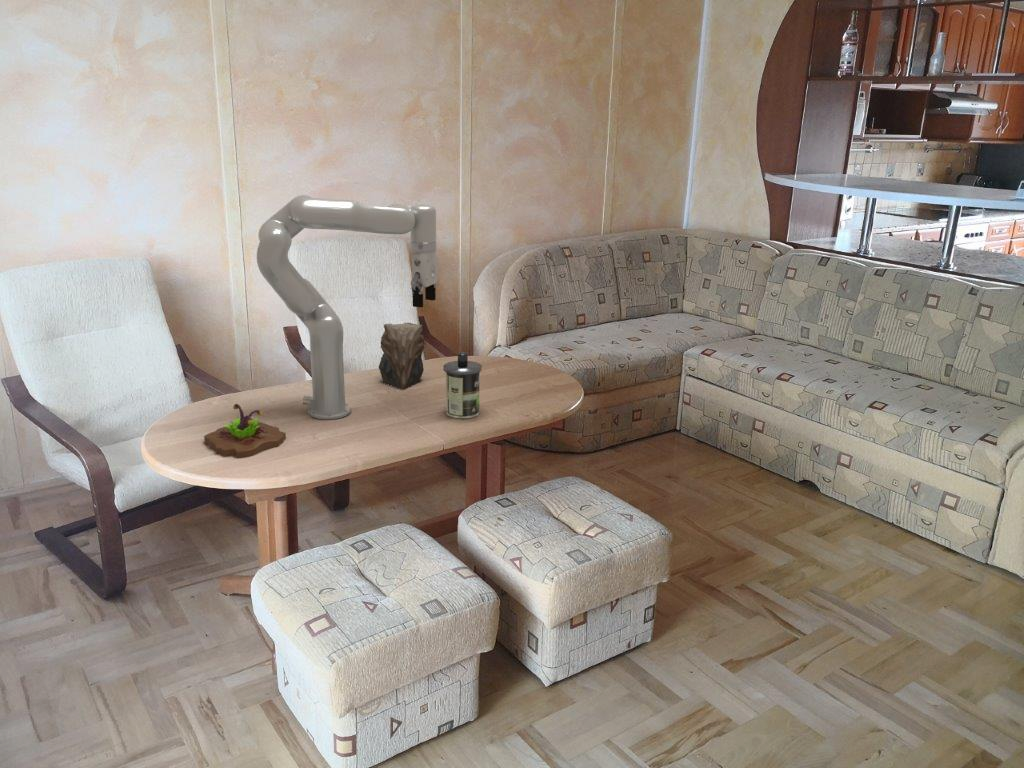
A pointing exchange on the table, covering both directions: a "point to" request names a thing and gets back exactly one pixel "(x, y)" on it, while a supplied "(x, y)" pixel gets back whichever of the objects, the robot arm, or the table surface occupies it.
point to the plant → (244, 437)
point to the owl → (402, 354)
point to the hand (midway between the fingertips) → (424, 303)
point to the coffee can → (462, 395)
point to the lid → (462, 366)
